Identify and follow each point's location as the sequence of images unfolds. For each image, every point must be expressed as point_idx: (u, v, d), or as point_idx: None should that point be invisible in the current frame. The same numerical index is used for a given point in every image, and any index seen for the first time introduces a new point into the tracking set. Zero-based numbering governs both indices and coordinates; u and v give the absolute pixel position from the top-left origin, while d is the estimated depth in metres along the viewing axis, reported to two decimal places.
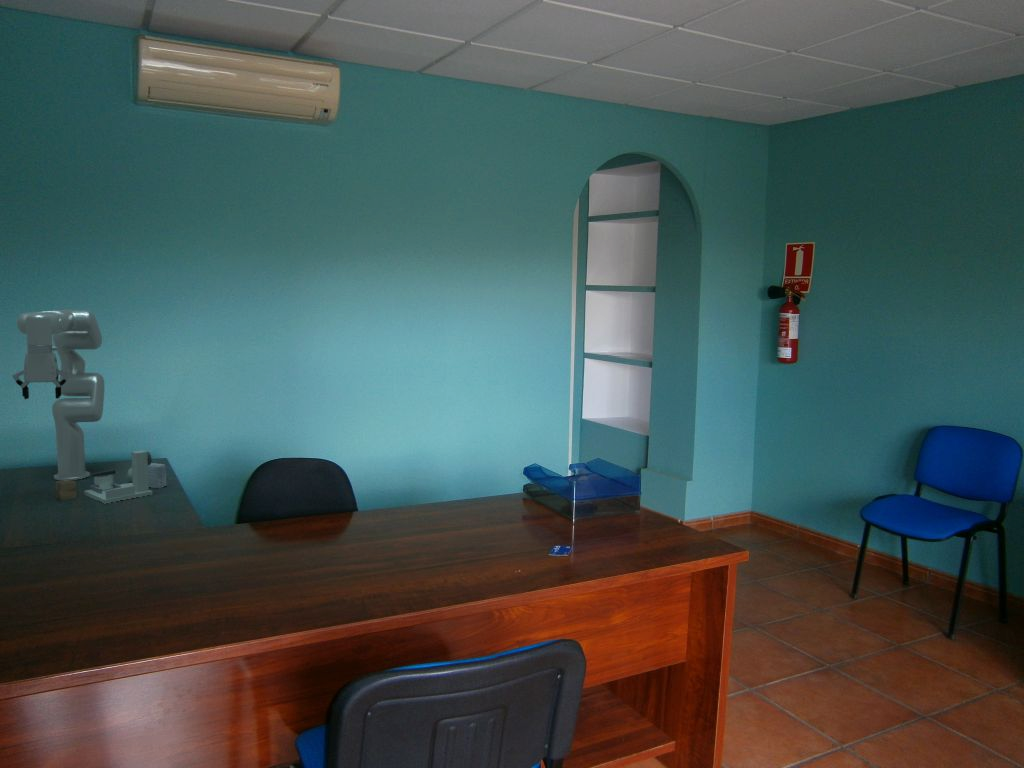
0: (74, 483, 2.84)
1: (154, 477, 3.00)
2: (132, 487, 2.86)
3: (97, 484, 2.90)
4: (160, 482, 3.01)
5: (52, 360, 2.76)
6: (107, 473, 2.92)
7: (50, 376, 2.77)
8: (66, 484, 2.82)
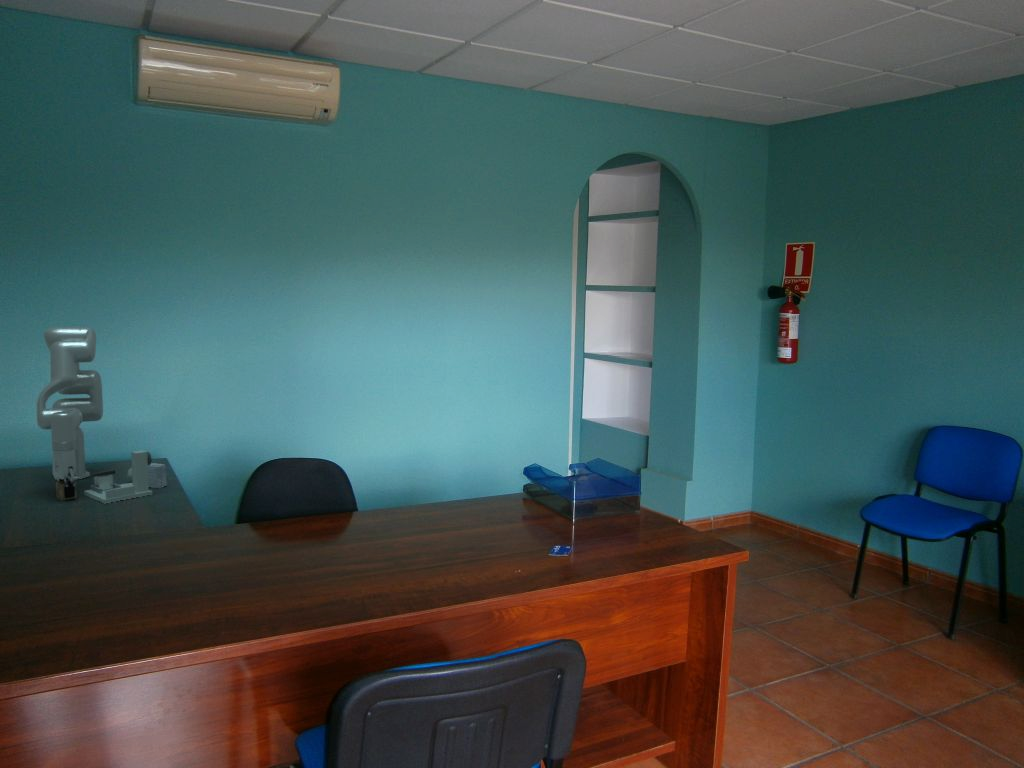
0: None
1: (153, 477, 3.00)
2: (132, 487, 2.86)
3: (97, 484, 2.90)
4: (160, 482, 3.01)
5: None
6: (107, 473, 2.92)
7: None
8: None
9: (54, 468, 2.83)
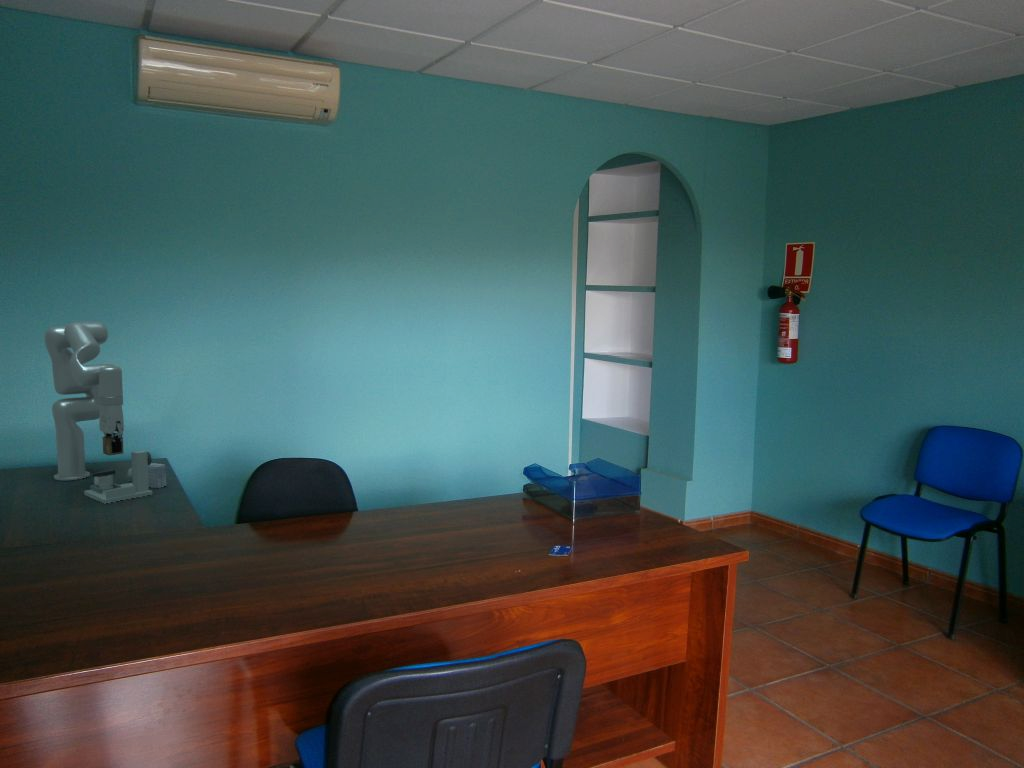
0: None
1: (153, 477, 3.00)
2: (132, 487, 2.86)
3: (97, 484, 2.90)
4: (160, 482, 3.01)
5: None
6: (107, 473, 2.92)
7: None
8: None
9: (101, 423, 2.82)
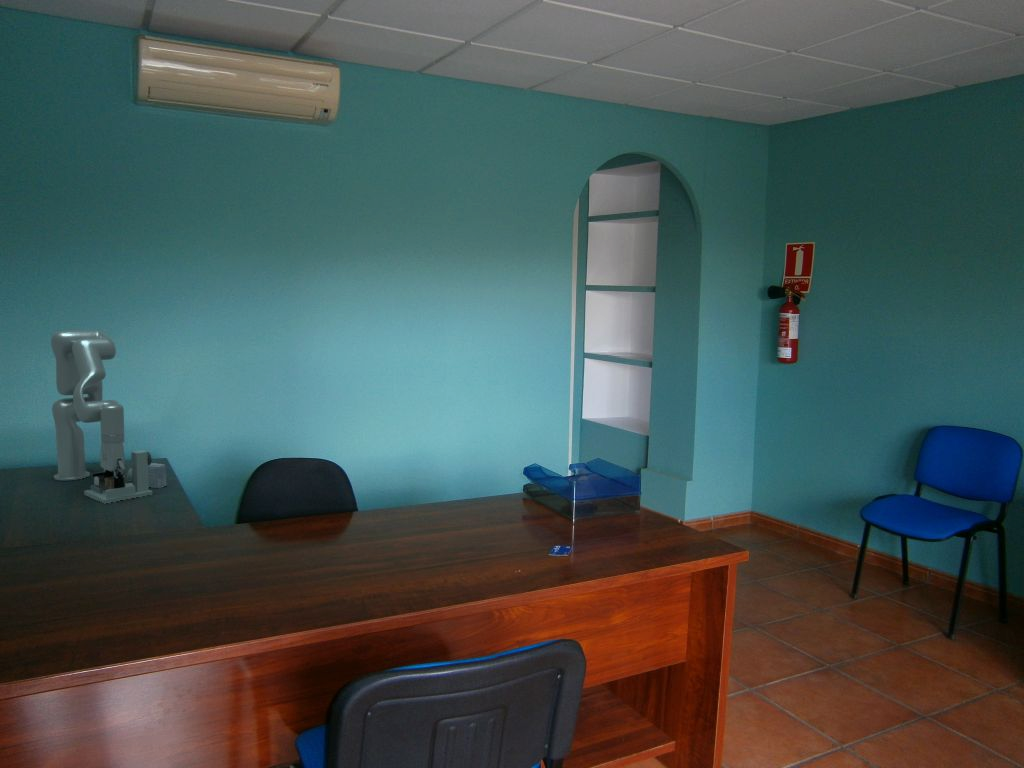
0: None
1: (154, 477, 3.00)
2: (132, 487, 2.86)
3: (97, 484, 2.90)
4: (160, 482, 3.01)
5: None
6: None
7: None
8: None
9: (102, 460, 2.85)
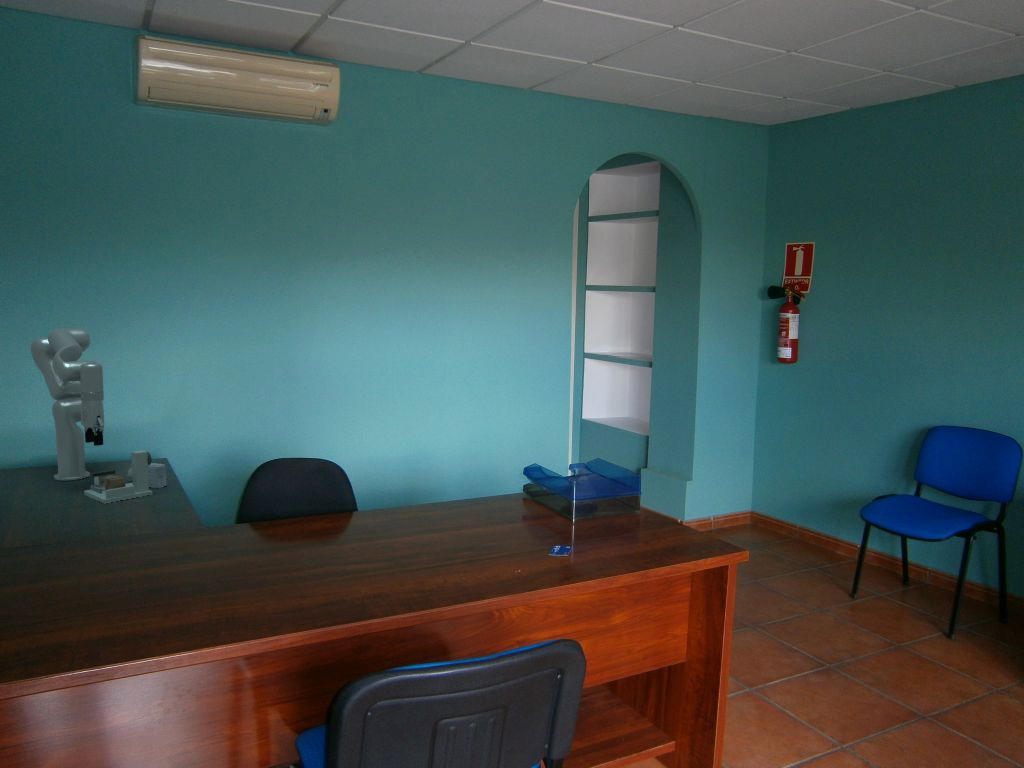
0: (123, 479, 2.85)
1: (153, 477, 3.00)
2: (132, 487, 2.86)
3: (97, 484, 2.90)
4: (160, 482, 3.01)
5: None
6: (107, 473, 2.92)
7: None
8: (115, 480, 2.83)
9: (82, 418, 2.93)
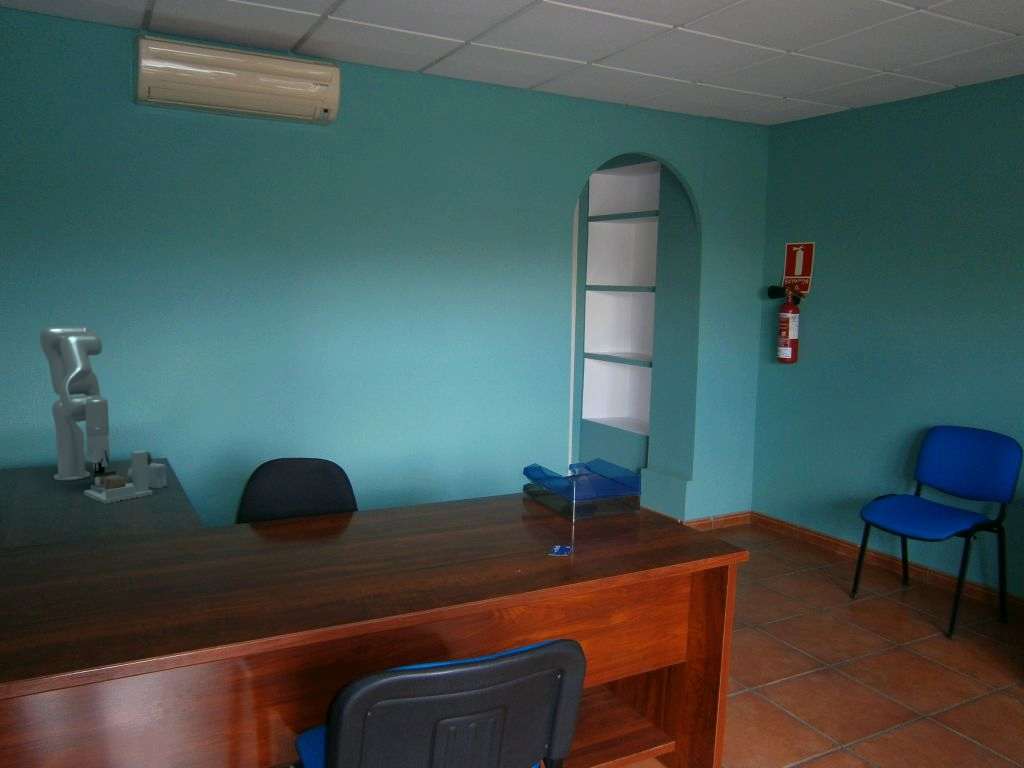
0: (123, 479, 2.85)
1: (153, 477, 3.00)
2: (132, 487, 2.86)
3: (98, 484, 2.89)
4: (160, 482, 3.01)
5: None
6: (108, 473, 2.92)
7: None
8: (115, 480, 2.83)
9: (88, 453, 2.92)
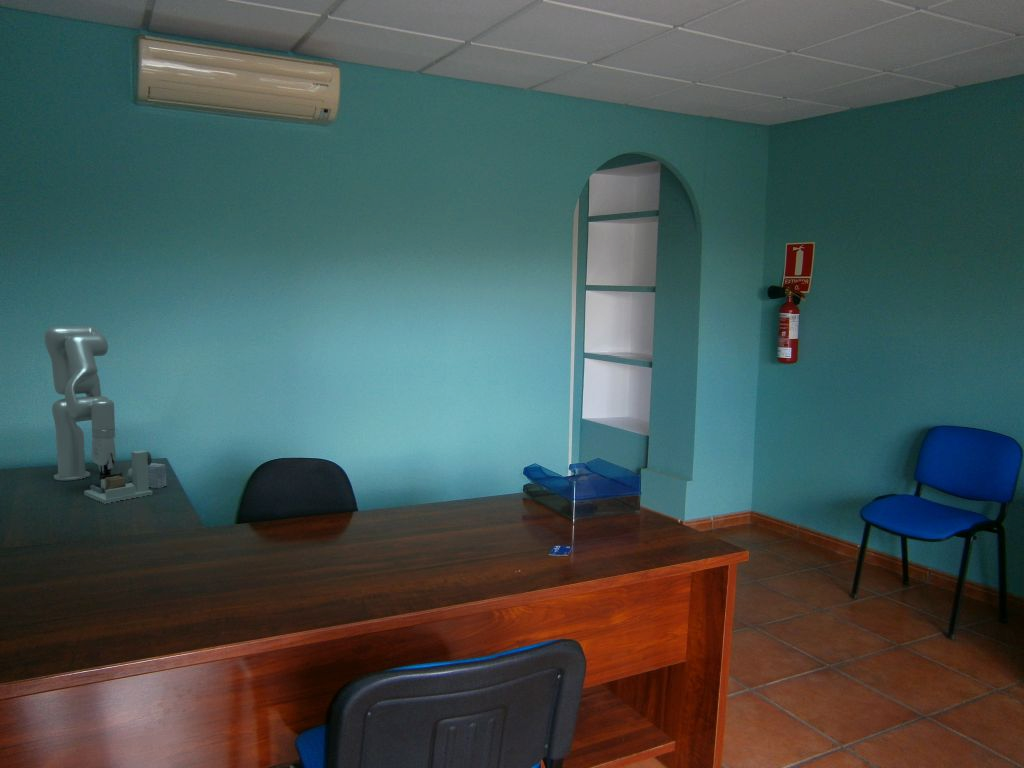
0: (123, 479, 2.85)
1: (153, 477, 3.00)
2: (132, 487, 2.86)
3: (104, 487, 2.86)
4: (160, 482, 3.01)
5: None
6: None
7: None
8: (116, 480, 2.83)
9: (94, 455, 2.89)
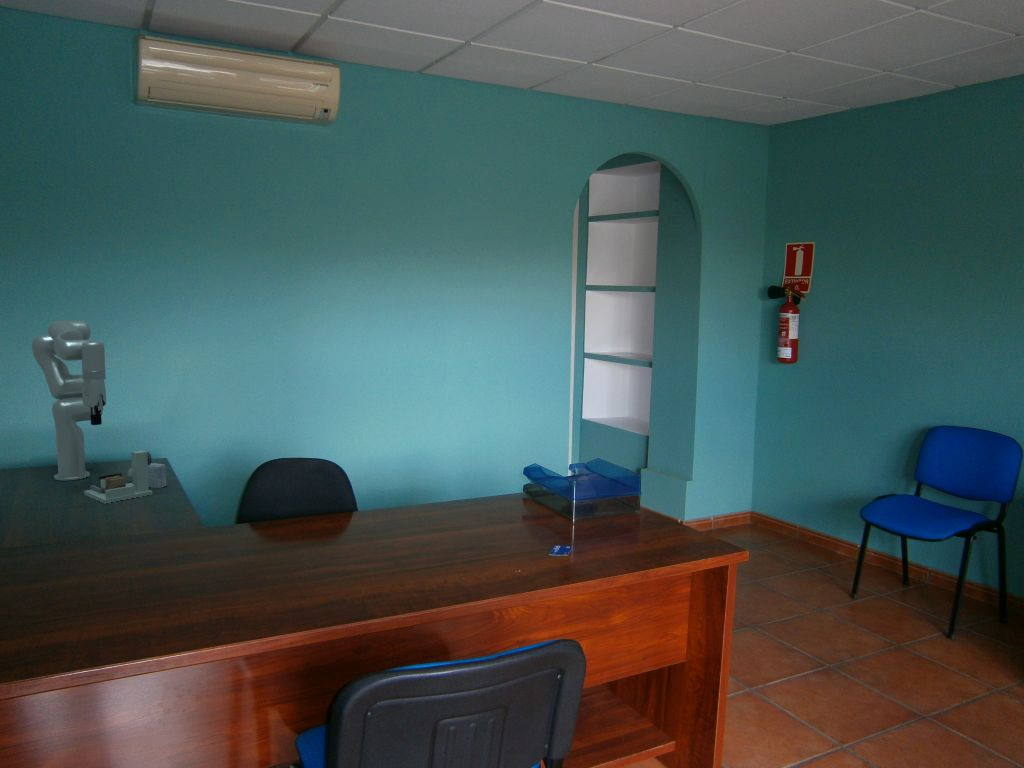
0: (123, 479, 2.85)
1: (153, 477, 3.00)
2: (132, 487, 2.86)
3: (103, 487, 2.86)
4: (160, 482, 3.01)
5: None
6: (113, 476, 2.89)
7: None
8: (116, 480, 2.83)
9: (84, 397, 2.91)
